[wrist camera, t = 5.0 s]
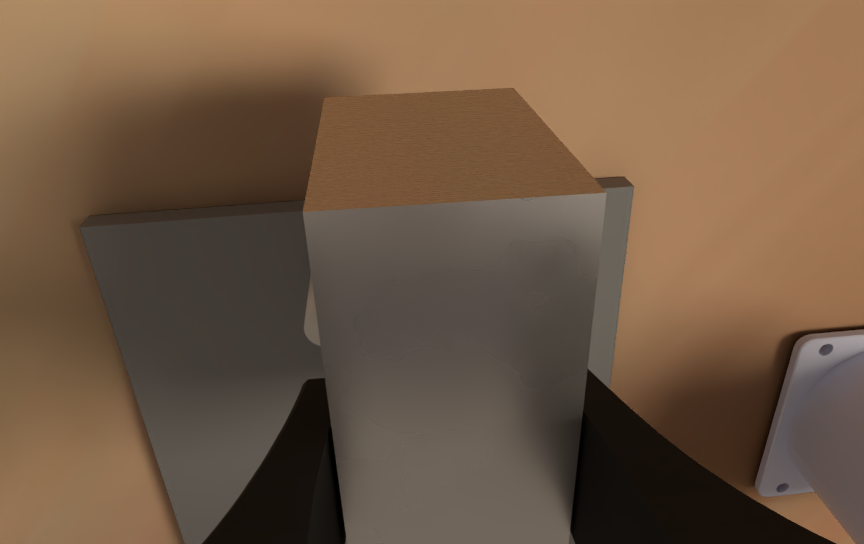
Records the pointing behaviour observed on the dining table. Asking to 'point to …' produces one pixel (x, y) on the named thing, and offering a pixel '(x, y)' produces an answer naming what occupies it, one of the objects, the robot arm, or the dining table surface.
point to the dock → (245, 333)
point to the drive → (452, 314)
